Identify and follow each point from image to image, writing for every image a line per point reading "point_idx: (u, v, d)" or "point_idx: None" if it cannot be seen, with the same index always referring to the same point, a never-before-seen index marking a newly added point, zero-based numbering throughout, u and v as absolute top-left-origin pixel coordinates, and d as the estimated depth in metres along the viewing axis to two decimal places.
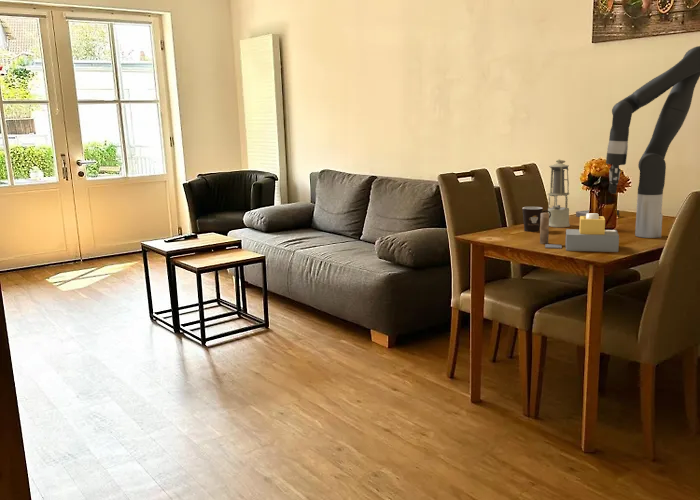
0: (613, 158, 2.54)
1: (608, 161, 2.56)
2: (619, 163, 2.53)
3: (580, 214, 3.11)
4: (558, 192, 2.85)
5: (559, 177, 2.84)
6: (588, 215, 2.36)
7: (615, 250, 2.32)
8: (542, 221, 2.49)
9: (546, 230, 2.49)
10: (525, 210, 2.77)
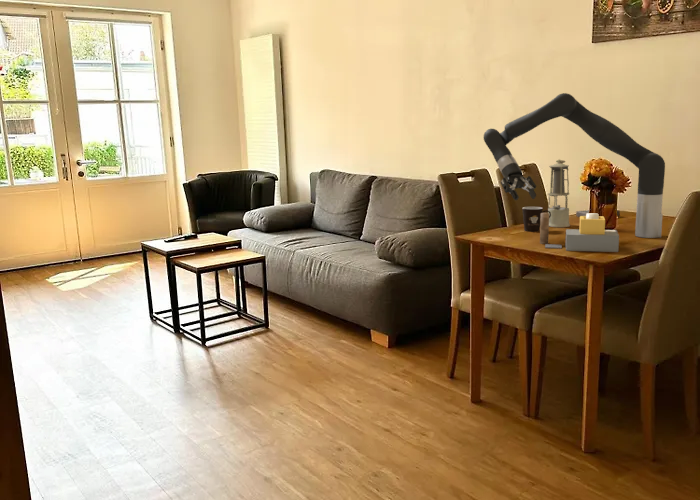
0: (503, 174, 2.65)
1: None
2: (507, 174, 2.63)
3: (580, 214, 3.12)
4: (558, 192, 2.85)
5: (559, 177, 2.84)
6: (588, 215, 2.36)
7: (615, 250, 2.32)
8: (542, 221, 2.49)
9: (546, 230, 2.49)
10: (525, 210, 2.77)
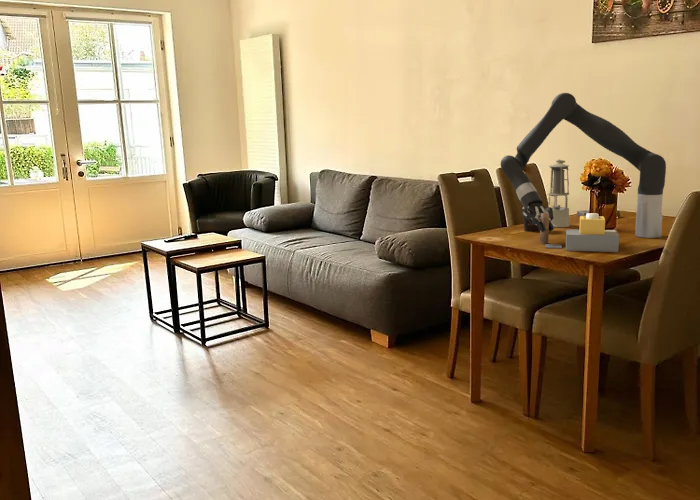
0: (522, 203, 2.56)
1: None
2: (527, 203, 2.53)
3: (579, 213, 3.13)
4: (558, 192, 2.85)
5: (559, 177, 2.84)
6: (588, 215, 2.36)
7: (615, 250, 2.32)
8: (542, 221, 2.49)
9: (546, 230, 2.49)
10: None
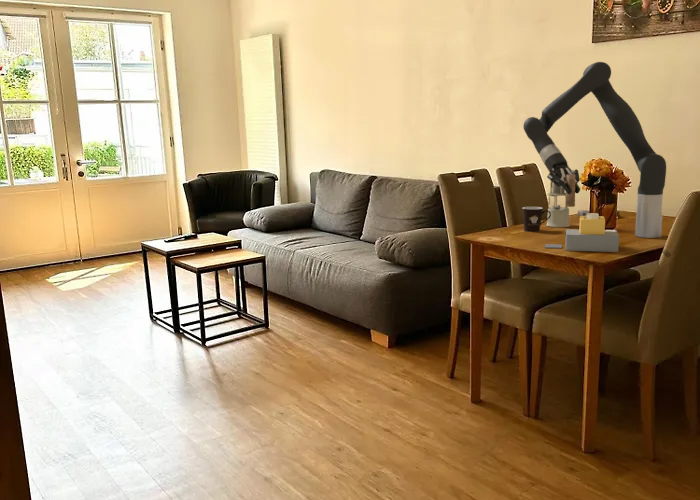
0: (547, 166, 2.47)
1: (549, 171, 2.48)
2: (552, 165, 2.44)
3: (579, 213, 3.14)
4: (558, 192, 2.85)
5: None
6: (588, 215, 2.36)
7: (615, 250, 2.32)
8: (568, 183, 2.40)
9: (572, 192, 2.40)
10: (525, 210, 2.77)
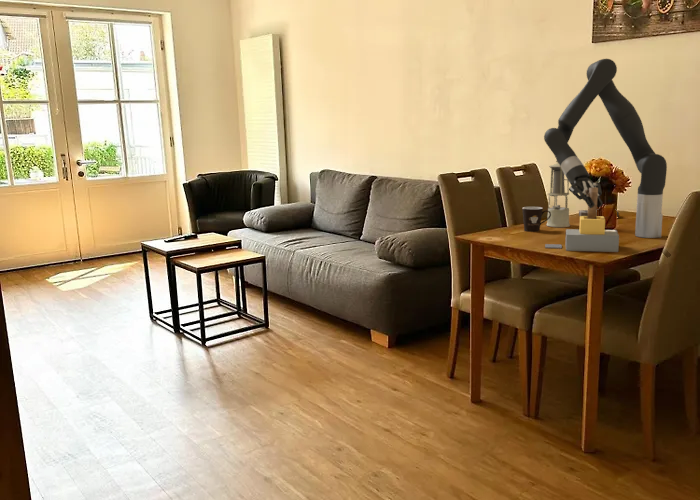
0: (568, 178, 2.42)
1: (570, 183, 2.43)
2: (573, 177, 2.39)
3: (579, 213, 3.15)
4: (558, 192, 2.85)
5: (559, 177, 2.84)
6: None
7: (615, 250, 2.32)
8: (590, 196, 2.35)
9: (594, 206, 2.35)
10: (525, 210, 2.77)
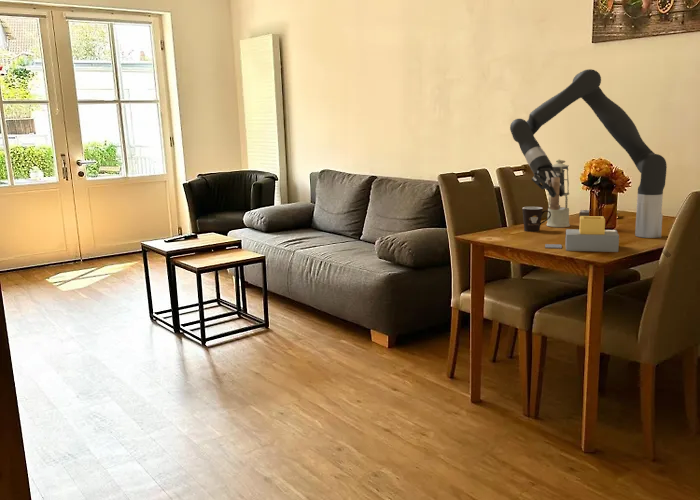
0: (532, 168, 2.46)
1: (534, 173, 2.47)
2: (536, 167, 2.43)
3: None
4: None
5: None
6: None
7: (615, 250, 2.32)
8: (552, 186, 2.39)
9: (556, 195, 2.39)
10: (525, 210, 2.77)
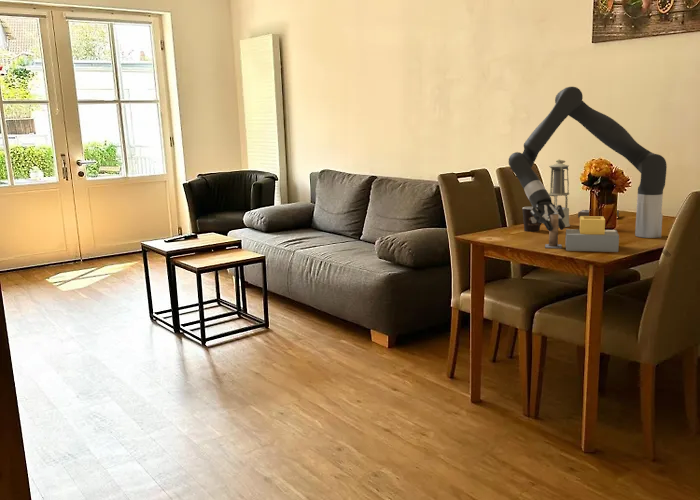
0: (531, 201, 2.48)
1: (533, 207, 2.49)
2: (536, 201, 2.46)
3: None
4: (558, 192, 2.85)
5: (559, 177, 2.84)
6: None
7: (615, 250, 2.32)
8: (551, 223, 2.42)
9: (555, 232, 2.42)
10: (525, 210, 2.77)
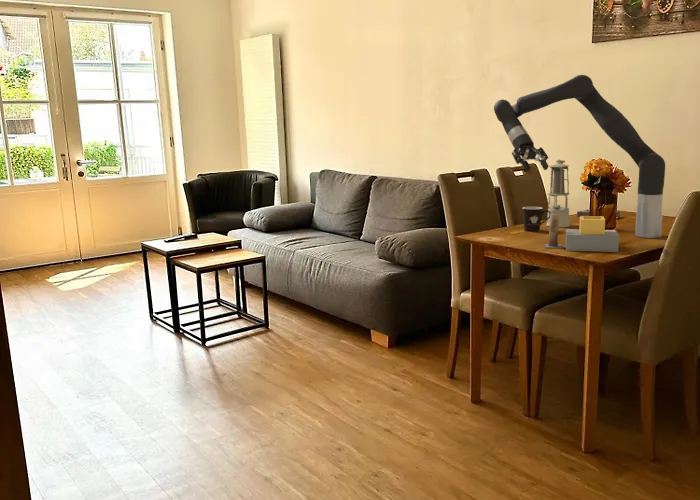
0: (514, 146, 2.59)
1: None
2: (518, 145, 2.56)
3: None
4: (558, 192, 2.85)
5: (559, 177, 2.84)
6: None
7: (615, 250, 2.32)
8: (551, 223, 2.42)
9: (555, 232, 2.42)
10: (525, 210, 2.77)
